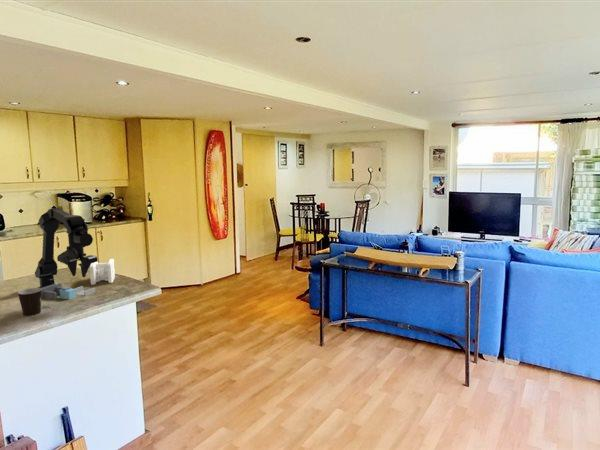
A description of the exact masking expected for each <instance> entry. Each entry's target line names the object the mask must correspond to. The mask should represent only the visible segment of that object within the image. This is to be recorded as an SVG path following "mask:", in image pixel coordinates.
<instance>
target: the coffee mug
mask: <svg viewBox="0 0 600 450" xmlns="http://www.w3.org/2000/svg"><path fill="white" fill-rule="evenodd" d="M17 295H18V300H19V303H20V304H19V305H20V306H21V311H22V315H23V316H25V317H32V315H33V316H37V315H39V314H41V312H42V311H41V310H42V298H41V289H40V288H37V287H31V288H30V287H29V288H25V289H21V290H18V292H17ZM36 314H37V315H36Z"/></svg>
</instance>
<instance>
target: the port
mask: <svg viewBox="0 0 600 450" xmlns="http://www.w3.org/2000/svg"><path fill="white" fill-rule="evenodd" d="M64 287H65V286H64ZM64 287H63V286H62V283H61V282H54V284H52V285H49V286H46V287H43V288H40V289H41V299H44V298H45V299H51V300H53V299H54V301H55V300H58V295H60V291H59V290H61V289H62V288H64Z"/></svg>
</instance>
